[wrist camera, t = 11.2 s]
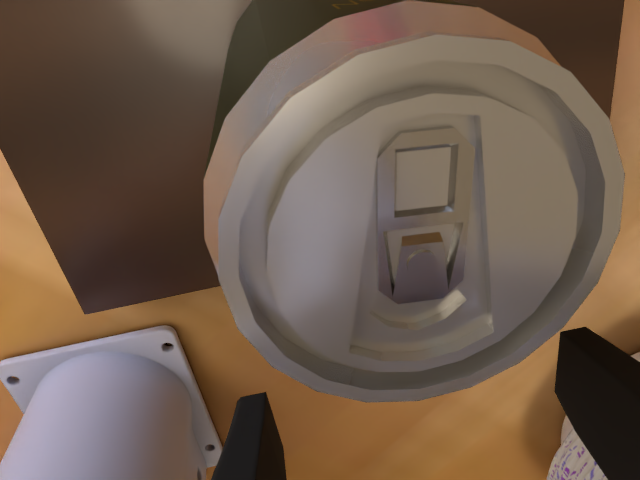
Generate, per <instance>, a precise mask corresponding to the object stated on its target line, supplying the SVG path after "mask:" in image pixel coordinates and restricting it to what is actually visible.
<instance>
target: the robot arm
mask: <svg viewBox="0 0 640 480" xmlns="http://www.w3.org/2000/svg"><path fill="white" fill-rule="evenodd" d="M164 343H170V344H172V346H166V345H164ZM12 376H14V377H17V378H18V379H16V378H13V377H12ZM0 379H1V381H2V382H3V384H4V385H5V387H6V388H7V390H8V391H9V393H10V394H11V396H12V397H13V399H14V400H15V402H16V403H17V405H18V406H19V408H20V409H21V411H22V412H23V414H24V415H23V417H22V420H21V422H20V424H19V426H18V428H17V430H16V432H15V434H14V436H13V438H12V440H11V442H10V444H9V447H8V449H7V451H6V453H5V455H4V457H3V459H2V461H1V463H0V480H206V469H207V468H208V467H212V466H216V468H215V471H214V473H213V476H212V478H211V480H286V469H285V460H284V450H283V445H282V442H281V439H280V436H279V432H278V429H277V426H276V423H275V420H274V417H273V413H272V410H271V407H270V404H269V401H268V398H267V394H266V392H264V393H259V394H255V395H250V396H245V397H241V398H240V399H239V400H238V401H237V405H236V409H235V412H234V416H233V419H232V423H231V426H230V429H229V432H228V435H227V438H226V441H225V444H224V447H222V445H221V442H220V440H219V437H218V435H217V432H216V430H215V427H214V425H213V422H212V420H211V417H210V415H209V412H208V410H207V407H206V405H205V402H204V400H203V397H202V395H201V392H200V390H199V387H198V385H197V382H196V380H195V378H194V375H193V373H192V370H191V368H190V365H189V363H188V360H187V358H186V355H185V353H184V350H183V348H182V345H181V343H180V340H179V338H178V335H177V333H176V331H175V329H174V328H172V327H171V326H167V325H162V326H157V327H152V328H148V329H143V330H138V331H134V332H129V333H124V334H120V335H115V336H110V337H106V338H101V339H96V340H92V341H87V342H82V343H78V344H73V345H68V346H64V347H59V348H54V349H50V350H45V351H40V352H36V353H31V354H26V355H22V356H17V357H12V358H8V359H4V360H2V361H1V362H0ZM555 393H556V395H557V397H558V399H559V401H560V403H561V405H562V407H563V409H564V411H565V413H566V415H567V417H568V419H569V421H570V423H571V425H572V426H573V428H574V430H575V432H576V433H577V435H578V436H579V438H580V439H581V441H582V442H583V444H584V445H585V447H586V448H587V450H588V451H589V453H590V454H591V456H592V457H593V459H594V460H595V462H596V463H597V465H598V466H599V467H600V469H601V470H602V472H603V473H604V475H605V476H606V478H607V479H608V480H640V362H639V361H637V360H636V359H634V358H633V357H631V356H630V355H628V354H627V353H625V352H624V351H622V350H620V349H619V348H617V347H616V346H614V345H613V344H611V343H610V342H608V341H607V340H605V339H604V338H602V337H601V336H599V335H597V334H596V333H594V332H593V331H591V330H590V329H588V328H586V327H582V328H577V329H572V330H567V331H563V332H560V342H559V352H558V362H557V371H556V381H555ZM208 444H212V445H208Z"/></svg>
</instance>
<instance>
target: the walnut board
mask: <svg viewBox="0 0 640 480" xmlns="http://www.w3.org/2000/svg"><path fill="white" fill-rule="evenodd" d="M252 1H253V0H0V149H1V151H2V153H3V155H4V157H5V159H6V161H7V163H8V165H9V167H10V169H11V171H12V173H13V175H14V177H15V178H16V180H17V182H18V184H19V186H20V188H21V190H22V192H23V194H24V196H25V198H26V200H27V202H28V204H29V206H30V208H31V210H32V212H33V214H34V216H35V218H36V220H37V222H38V224H39V226H40V228H41V230H42V231H43V233H44V235H45V237H46V239H47V241H48V243H49V245H50V247H51V249H52V251H53V253H54V255H55V257H56V259H57V261H58V263H59V265H60V267H61V269H62V271H63V273H64V275H65V277H66V279H67V281H68V283H69V284H70V286H71V288H72V290H73V292H74V294H75V296H76V298H77V300H78V302H79V304H80V306H81V308H82V310H83V312H84V314H90V313H95V312H100V311H104V310H109V309H114V308H118V307H123V306H128V305H132V304H137V303H142V302H147V301H151V300H156V299H161V298H165V297H170V296H175V295H179V294H184V293H189V292H193V291H198V290H203V289H208V288H212V287H217V286H221V285H220V282H219V280H218V273H217V271H216V268H215V265H214V263H213V260H212V258H211V255H210V253H209V250H208V248H207V245H206V242H205V240H204V185H203V180H204V175H205V169H206V164H207V159H208V153H209V148H210V143H211V137H212V132H213V127H214V121H215V116H216V111H217V105H218V100H219V95H220V89H221V84H222V79H223V73H224V68H225V63H226V57H227V52H228V48H229V45H230V42H231V39H232V36H233V33H234V30H235V27H236V24H237V21H238V20H239V18H240V17H241V16H242V14H243V13H244V12H245V10H246V9H247V8H248V6H249V5H250V3H251V2H252ZM449 1H453V2H458V3H462V4H467V5H471V6H476V7H480V8H482V9H483V10H485V11H487V12H489V13H491V14H493V15H495V16H497V17H499V18H501V19H503V20H505V21H507V22H508V23H510V24H512V25H514V26H516V27H518V28H520V29H522V30H524V31H526V32H528V33H530V34H532V35H533V36H535V37H537V38H538V39H539V40H540V41H541V43H542V44H543V45H544V46H545V47H546V49H547V50H548V51H549V52H550V54H551V55H552V56H553V57H554V58H555V60H556V61H557V62H558V63H559V64H560V66H561V67H563V68H565V69H566V70H568V71H570V72H571V73H572V74H573V75H574V76H575V77H576V79H577V80H578V81H579V82H580V84H581V85H582V86H583V87H584V88H585V90H586V91H587V92H588V93H589V95H590V96H591V97H592V98H593V99H594V101H595V102H596V103H597V104H598V106H599V107H600V108H601V109H602V110H603V112H604V113H605V114H606V115H607V117H608V118H609V119H610V113H611V105H612V97H613V89H614V80H615V72H616V64H617V56H618V48H619V40H620V31H621V23H622V15H623V7H624V0H449Z"/></svg>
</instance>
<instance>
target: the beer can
mask: <svg viewBox="0 0 640 480" xmlns="http://www.w3.org/2000/svg"><path fill="white" fill-rule="evenodd" d="M624 179H625V173H624V169H623V166H622V162H621V159H620V155H619V151H618V148H617V144H616V141H615V137H614V134H613V130H612V127H611V123H610V119H609V118H608V117H607V115H606V114H605V113H604V112H603V110H602V109H601V108H600V107H599V106H598V104H597V103H596V102H595V101H594V99H593V98H592V97H591V96H590V95H589V93H588V92H587V91H586V90H585V88H584V87H583V86H582V85H581V84H580V82H579V81H578V80H577V79H576V77H575V76H574V75H573V74H572V73H571V72H570V71H568V70H566V69H565V68H563V67H561V66H560V64H559V63H558V62H557V61H556V60H555V58H554V57H553V56H552V55H551V54H550V52H549V51H548V50H547V49H546V47H545V46H544V45H543V44H542V43H541V41H540V40H539V39H538V38H537V37H535V36H533V35H532V34H530V33H528V32H526V31H524V30H522V29H520V28H518V27H516V26H514V25H512V24H510V23H508V22H507V21H505V20H503V19H501V18H499V17H497V16H495V15H493V14H491V13H489V12H487V11H485V10H483V9H482V8H480V7H476V6H471V5H467V4H462V3H458V2H453V1H449V0H253V1H252V2H251V3H250V5H249V6H248V8H247V9H246V10H245V12H244V13H243V14H242V16H241V17H240V18H239V20H238V21H237V24H236V27H235V30H234V33H233V36H232V39H231V42H230V45H229V48H228V52H227V57H226V63H225V68H224V73H223V79H222V84H221V89H220V95H219V100H218V105H217V111H216V116H215V121H214V127H213V132H212V137H211V143H210V148H209V153H208V159H207V164H206V169H205V175H204V180H203V185H204V240H205V242H206V245H207V248H208V250H209V253H210V255H211V258H212V260H213V263H214V265H215V268H216V271H217V273H218V280H219V282H220V285H221V287H222V290H223V292H224V295H225V297H226V300H227V302H228V305H229V308H230V310H231V313H232V315H233V318H234V320H235V323H236V325H237V328H238V330H239V331H240V332H241V333H242V334H243V335H244V336H245V337H246V339H247V340H248V341H249V342H250V343H251V344H252V345H253V346H254V347H255V348H256V350H257V351H258V352H259V353H260V354H261V355H262V356H263V357H264V358H265V359H266V361H267V362H268V363H269V364H270V365H271V366H272V367H273V368H275V369H277V370H279V371H281V372H282V373H284V374H286V375H288V376H290V377H291V378H293V379H295V380H297V381H299V382H300V383H302V384H304V385H306V386H308V387H310V388H311V389H313V390H315V391H317V392H322V393H326V394H331V395H335V396H340V397H344V398H349V399H353V400H358V401H362V402H398V401H420V400H424V399H428V398H432V397H436V396H439V395H443V394H447V393H451V392H455V391H459V390H463V389H466V388H470V387H472V386H474V385H476V384H478V383H480V382H482V381H484V380H486V379H488V378H490V377H492V376H494V375H496V374H498V373H500V372H502V371H504V370H506V369H508V368H510V367H512V366H514V365H516V364H518V363H520V362H521V361H522V360H524V359H525V358H526V357H527V356H529V355H530V354H531V353H532V352H533V351H535V350H536V349H537V348H538V347H540V346H541V345H542V344H543V343H545V342H546V341H547V340H548V339H550V338H551V337H552V336H553V335H554V334H556V333H557V332H558V331H559V330H561V329H562V328H563V327H564V326H565V324H566V323H567V322H568V321H569V319H570V318H571V317H572V315H573V314H574V313H575V312H576V310H577V309H578V308H579V306H580V305H581V304H582V302H583V301H584V300H585V299H586V297H587V296H588V295H589V293H590V292H591V291H592V290H593V288H594V287H595V286H596V284H597V283H598V281H599V279H600V276H601V274H602V272H603V269H604V267H605V264H606V262H607V260H608V257H609V255H610V253H611V250H612V248H613V245H614V243H615V241H616V238H617V236H618V234H619V231H620V222H621V212H622V201H623V190H624Z"/></svg>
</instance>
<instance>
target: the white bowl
mask: <svg viewBox="0 0 640 480" xmlns="http://www.w3.org/2000/svg"><path fill="white" fill-rule="evenodd" d="M631 357H633V358H634V359H636V360H637V361H639V362H640V352H638V353H635V354H633V355H631ZM547 480H608V479H607V478H606V476H605V475H604V473H603V472H602V470H601V469H600V467H599V466H598V465H597V463H596V462H595V460H594V459H593V457H592V456H591V454H590V453H589V451H588V450H587V448H586V447H585V445H584V444H583V442H582V441H581V439H580V438H579V436H578V435H577V433H576V432H575V430H574V428H573V426H572V425H571V423H570V421H569V419H568V417H567V415H566V416H565V419H564V422H563V426H562V432H561V446H560V448H559V449H558V451H557V452H556V454H555V456H554V458H553V461H552V462H551V466H550V470H549V473H548V476H547Z"/></svg>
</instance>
